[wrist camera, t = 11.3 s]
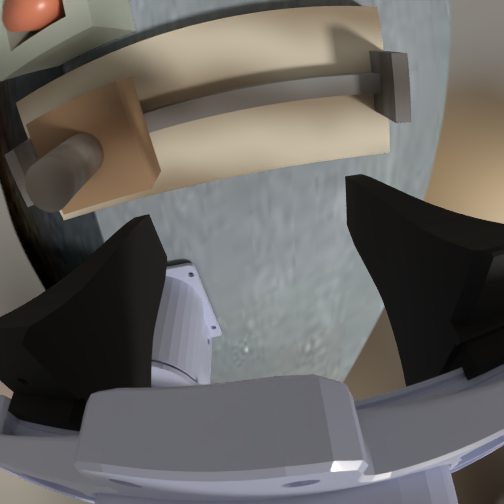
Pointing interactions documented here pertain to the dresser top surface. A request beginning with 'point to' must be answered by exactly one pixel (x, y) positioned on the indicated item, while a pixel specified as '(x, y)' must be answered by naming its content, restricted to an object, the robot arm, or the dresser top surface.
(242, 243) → the dresser top surface
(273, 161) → the rail board
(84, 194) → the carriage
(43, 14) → the button
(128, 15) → the cabinet
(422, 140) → the dresser top surface
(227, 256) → the dresser top surface
